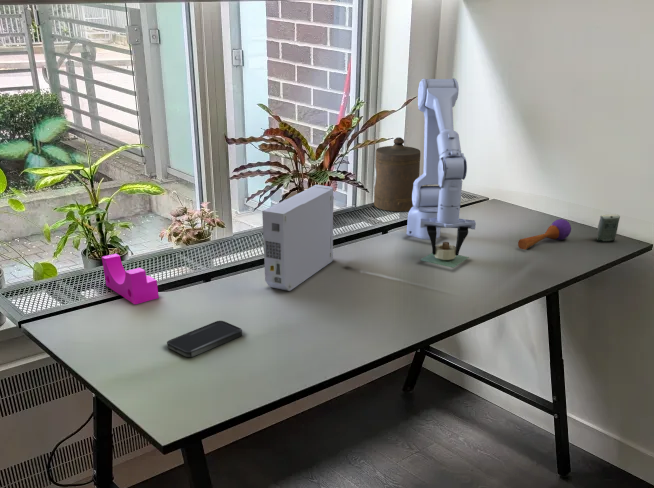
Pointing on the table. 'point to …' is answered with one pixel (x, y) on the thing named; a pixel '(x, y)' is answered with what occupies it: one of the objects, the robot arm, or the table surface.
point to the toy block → (129, 281)
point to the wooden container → (395, 176)
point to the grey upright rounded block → (607, 228)
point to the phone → (204, 338)
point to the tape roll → (445, 252)
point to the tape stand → (448, 263)
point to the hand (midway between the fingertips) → (445, 253)
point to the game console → (298, 237)
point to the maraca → (548, 234)
